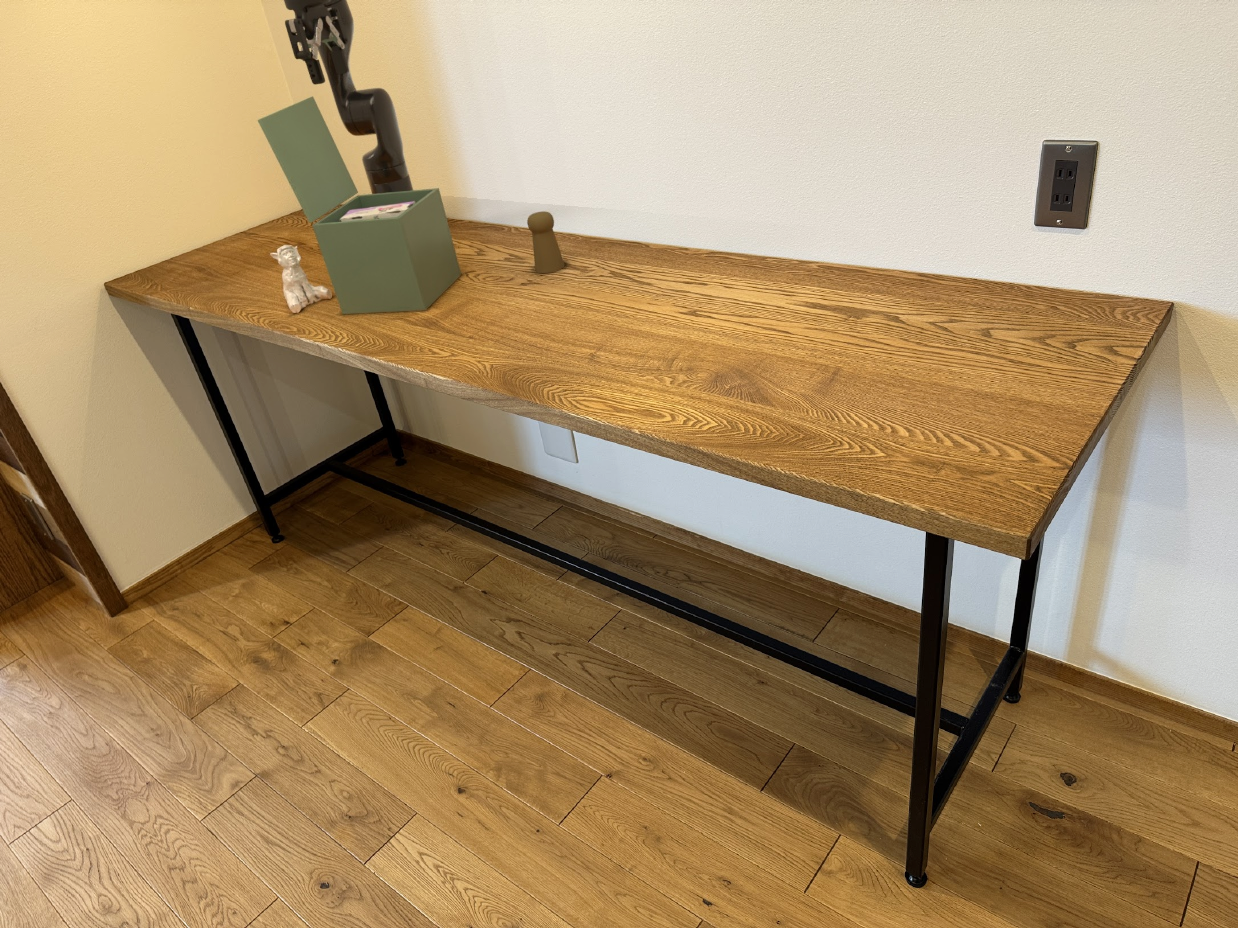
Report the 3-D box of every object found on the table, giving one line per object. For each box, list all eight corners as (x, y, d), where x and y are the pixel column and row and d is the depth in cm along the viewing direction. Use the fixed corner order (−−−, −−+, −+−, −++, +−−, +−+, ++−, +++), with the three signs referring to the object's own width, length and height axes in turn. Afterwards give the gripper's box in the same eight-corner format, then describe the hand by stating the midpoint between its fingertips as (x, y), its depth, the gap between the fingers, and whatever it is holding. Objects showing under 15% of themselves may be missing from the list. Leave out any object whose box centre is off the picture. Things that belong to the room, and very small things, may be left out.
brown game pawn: (569, 261, 179) (558, 207, 173) (558, 273, 174) (547, 218, 169) (542, 262, 181) (531, 208, 175) (530, 273, 177) (518, 219, 171)
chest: (461, 274, 182) (438, 188, 173) (425, 310, 168) (398, 218, 159) (383, 279, 188) (357, 195, 178) (342, 314, 174) (311, 225, 164)
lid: (313, 96, 169) (291, 104, 171) (260, 118, 155) (238, 127, 157) (358, 192, 178) (337, 199, 180) (312, 222, 164) (290, 228, 166)
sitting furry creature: (294, 315, 177) (272, 257, 171) (273, 308, 183) (251, 252, 176) (334, 297, 183) (315, 240, 176) (313, 291, 188) (293, 236, 182)
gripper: (302, -27, 155) (333, 72, 164) (256, -17, 144) (291, 90, 152) (340, -34, 153) (369, 68, 161) (296, -24, 141) (330, 84, 150)
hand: (331, 78), depth 157 cm, fingers open, 8 cm apart
